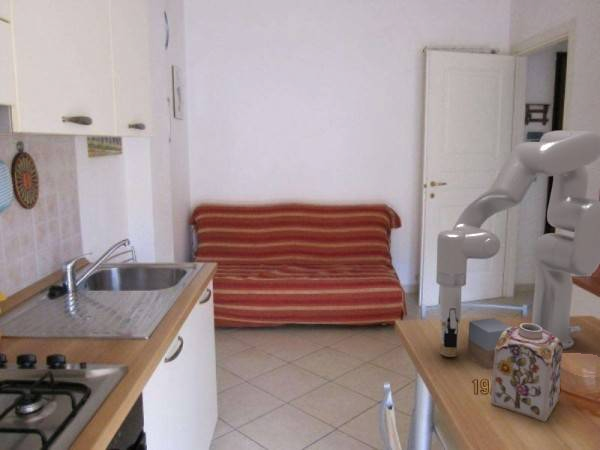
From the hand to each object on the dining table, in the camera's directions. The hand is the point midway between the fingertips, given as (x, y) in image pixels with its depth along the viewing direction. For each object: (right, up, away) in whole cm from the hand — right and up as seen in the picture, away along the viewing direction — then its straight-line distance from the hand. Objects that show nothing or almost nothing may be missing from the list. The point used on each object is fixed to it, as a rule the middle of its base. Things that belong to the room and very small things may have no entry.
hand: (449, 342), depth 134 cm
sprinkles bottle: (0, -3, +1) cm, 4 cm away
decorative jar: (+10, -8, -22) cm, 26 cm away
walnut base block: (+10, -4, -1) cm, 11 cm away
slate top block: (+10, 0, -2) cm, 11 cm away
